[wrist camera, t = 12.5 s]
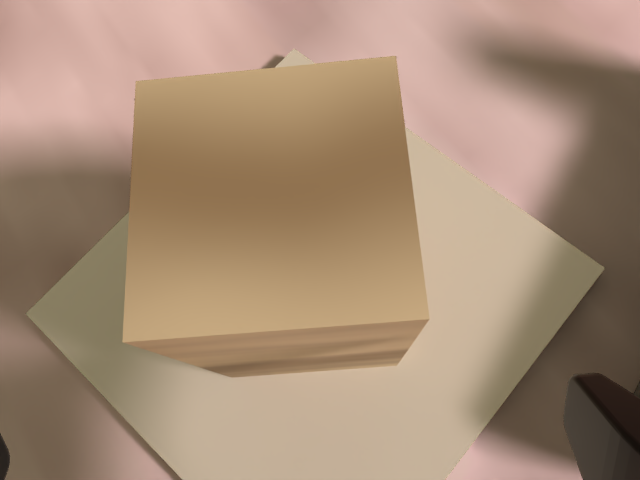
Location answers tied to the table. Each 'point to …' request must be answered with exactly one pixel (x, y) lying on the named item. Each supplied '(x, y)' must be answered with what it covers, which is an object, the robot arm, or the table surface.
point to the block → (274, 221)
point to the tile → (350, 384)
